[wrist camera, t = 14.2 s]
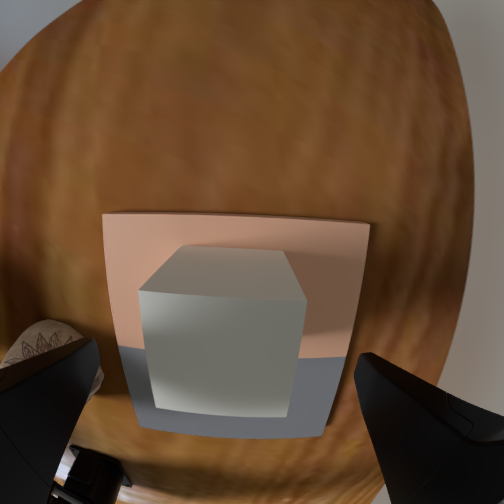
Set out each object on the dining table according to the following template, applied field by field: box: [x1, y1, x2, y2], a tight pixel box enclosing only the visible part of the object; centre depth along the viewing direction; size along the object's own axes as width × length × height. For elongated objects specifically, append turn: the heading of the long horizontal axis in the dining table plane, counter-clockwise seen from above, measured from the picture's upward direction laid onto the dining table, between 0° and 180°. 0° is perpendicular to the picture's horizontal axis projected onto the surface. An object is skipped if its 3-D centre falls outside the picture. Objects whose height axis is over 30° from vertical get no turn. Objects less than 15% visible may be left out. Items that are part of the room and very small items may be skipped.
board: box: [102, 212, 370, 439], centre depth 16 cm, size 16×14×1 cm
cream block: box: [138, 245, 307, 417], centre depth 11 cm, size 5×5×6 cm
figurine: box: [0, 319, 104, 404], centre depth 11 cm, size 7×7×12 cm
